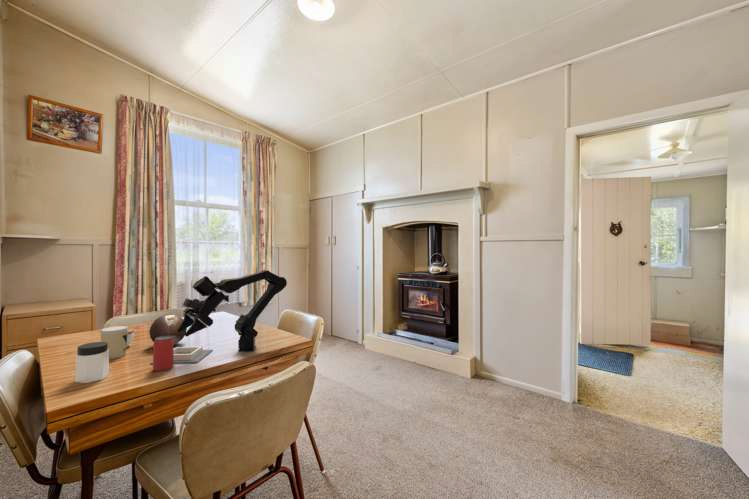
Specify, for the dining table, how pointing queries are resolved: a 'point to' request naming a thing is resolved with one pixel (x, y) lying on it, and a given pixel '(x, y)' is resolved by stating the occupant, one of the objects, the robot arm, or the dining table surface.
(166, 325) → the brown ball
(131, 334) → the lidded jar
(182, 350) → the holder plate
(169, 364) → the beer can
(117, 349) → the coffee cup
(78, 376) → the jar
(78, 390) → the dining table surface
